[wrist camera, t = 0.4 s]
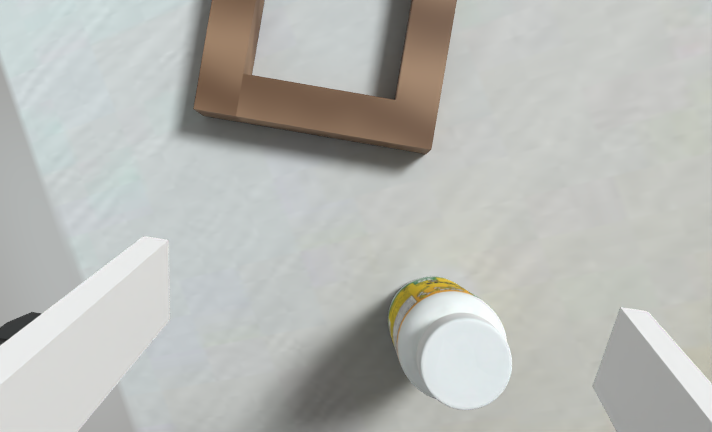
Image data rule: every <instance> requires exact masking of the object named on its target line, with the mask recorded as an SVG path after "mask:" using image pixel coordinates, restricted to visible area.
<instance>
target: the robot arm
mask: <svg viewBox="0 0 712 432" xmlns="http://www.w3.org/2000/svg"><path fill="white" fill-rule="evenodd" d="M169 321H170V291H169V240H166V239H159V238H152V237H146V236H143V237H142V238H140V239H139V240H138V241H136V242H135V243H134V244H133V245H131V246H130V247H129V248H127V249H126V250H125V251H123V252H122V253H121V254H119V255H118V256H117V257H116V258H114V259H113V260H112V261H110V262H109V263H108V264H106V265H105V266H104V267H102V268H101V269H100V270H99V271H97V272H96V273H95V274H93V275H92V276H91V277H89V278H88V279H87V280H85V281H84V282H83V283H82V284H80V285H79V286H78V287H76V288H75V289H74V290H73V291H71V292H70V293H68V294H67V295H66V296H65V297H63V298H62V299H61V300H59V301H58V302H57V303H55V304H54V305H53V306H51V307H50V308H49V309H48V310H46V311H45V312H44V313H42V314H41V313H34V312H31V313H29V314H26V315H24V316H22V317H19V318H17V319H14V320H12V321H10V322H7V323H6V324H4V325H3V326H2V327H1V328H0V432H78V430H79V429H80V428H81V427H82V426H83V424H84V423H85V422H86V421H87V420H88V418H89V417H90V416H91V415H92V414H93V412H94V411H95V410H96V409H97V408H98V406H99V405H100V404H101V403H102V401H103V400H104V399H105V398H106V397H107V395H108V394H109V393H110V392H111V391H112V389H113V388H114V387H115V386H116V385H117V383H118V382H119V381H120V380H121V379H122V377H123V376H124V375H125V374H126V373H127V371H128V370H129V369H130V368H131V366H132V365H133V364H134V363H135V362H136V360H137V359H138V358H139V357H140V356H141V354H142V353H143V352H144V351H145V350H146V348H147V347H148V346H149V345H150V344H151V342H152V341H153V340H154V339H155V338H156V336H157V335H158V334H159V333H160V331H161V330H162V329H163V328H164V327H165V325H166V324H167V323H168V322H169ZM593 388H594V390H595V392H596V394H597V396H598V398H599V399H600V401H601V403H602V405H603V407H604V409H605V411H606V412H607V414H608V416H609V418H610V420H611V422H612V424H613V426H614V427H615V429H616V431H617V432H712V383H711V382H710V381H709V380H708V379H707V378H706V377H705V375H704V374H703V373H702V372H701V371H700V370H699V369H698V368H697V366H696V365H695V364H694V363H693V362H692V361H691V360H690V358H689V357H688V356H687V355H686V354H685V353H684V352H683V351H682V349H681V348H680V347H679V346H678V345H677V344H676V343H675V341H674V340H673V339H672V338H671V337H670V336H669V335H668V334H667V332H666V331H665V330H664V329H663V328H662V327H661V326H660V324H659V323H658V322H657V321H656V320H655V319H654V318H653V317H652V315H651V314H650V313H649V312H648V311H642V310H636V309H629V308H622V307H620V309H619V312H618V315H617V318H616V321H615V324H614V326H613V329H612V332H611V335H610V338H609V341H608V343H607V346H606V349H605V352H604V355H603V358H602V361H601V363H600V366H599V369H598V372H597V375H596V378H595V380H594V383H593Z"/></svg>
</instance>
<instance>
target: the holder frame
mask: <svg viewBox="0 0 712 432" xmlns="http://www.w3.org/2000/svg"><path fill="white" fill-rule="evenodd" d="M264 1H265V0H212V3H211V9H210V15H209V21H208V26H207V32H206V38H205V44H204V50H203V56H202V62H201V67H200V73H199V79H198V85H197V91H196V97H195V103H194V110H196V111H197V112H199V113H200V114H202V115H203V116H208V117H214V118H219V119H225V120H231V121H237V122H243V123H248V124H254V125H260V126H266V127H272V128H278V129H283V130H289V131H295V132H301V133H307V134H313V135H318V136H324V137H330V138H336V139H342V140H348V141H353V142H359V143H365V144H371V145H377V146H382V147H388V148H394V149H400V150H406V151H412V152H417V153H423V154H427V153H428V152H429V151H430V150H431V148H432V142H433V136H434V130H435V125H436V119H437V113H438V107H439V101H440V95H441V89H442V84H443V78H444V72H445V66H446V60H447V54H448V49H449V43H450V37H451V31H452V25H453V19H454V14H455V8H456V2H457V0H412V1H411V7H410V13H409V19H408V25H407V30H406V36H405V42H404V48H403V54H402V60H401V66H400V71H399V77H398V83H397V89H396V95H395V100H393V99H387V98H381V97H375V96H370V95H364V94H358V93H352V92H346V91H341V90H335V89H329V88H323V87H317V86H312V85H306V84H300V83H294V82H288V81H282V80H277V79H271V78H265V77H259V76H253V75H252V71H253V65H254V59H255V53H256V47H257V42H258V36H259V30H260V24H261V18H262V12H263V6H264Z"/></svg>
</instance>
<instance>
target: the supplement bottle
mask: <svg viewBox="0 0 712 432" xmlns="http://www.w3.org/2000/svg"><path fill="white" fill-rule="evenodd" d="M388 327H389V332H390V335H391V338H392V341H393V344H394V347H395V350H396V353H397V356H398V359H399V362H400V364H401V367H402V369H403V371H404V373H405V375H406V376H407V378H408V379H409V380H410V382H411V383H412V384H413V385H414V386H415V387H416V388H417V389H419V390H420V391H421V392H423V393H424V394H426V395H428V396H430V397H432V398H435V399H437V400H438V401H440V402H441V403H443V404H445V405H447V406H449V407H452V408H455V409H460V410H472V409H477V408H480V407H483V406H485V405H488V404H489V403H491V402H492V401H494V400H495V399H496V398H497V397H498V396H499V395H500V394H501V393H502V392H503V391H504V389H505V387H506V386H507V384H508V381H509V379H510V375H511V371H512V357H511V352H510V349H509V346H508V344H507V338H506V333H505V330H504V327H503V325H502V323H501V321H500V319H499V317H498V316H497V314H496V313H495V312H494V311H493V310H492V309H491V308H490V307H489V306H488V305H487V304H486V303H485V302H483V301H482V300H481V299H479V298H478V297H476V296H475V295H473V294H472V293H470V292H468V291H467V290H465V289H464V288H462V287H461V286H459V285H458V284H456V283H454V282H453V281H450V280H448V279H446V278H442V277H436V276H430V277H423V278H419V279H415V280H413V281H410V282H409V283H407V284H405V285H404V286H403V287H402V288H401V289H400V290H399V291H398V292H397V293H396V295H395V296H394V298H393V300H392V302H391V305H390V308H389V313H388Z"/></svg>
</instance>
